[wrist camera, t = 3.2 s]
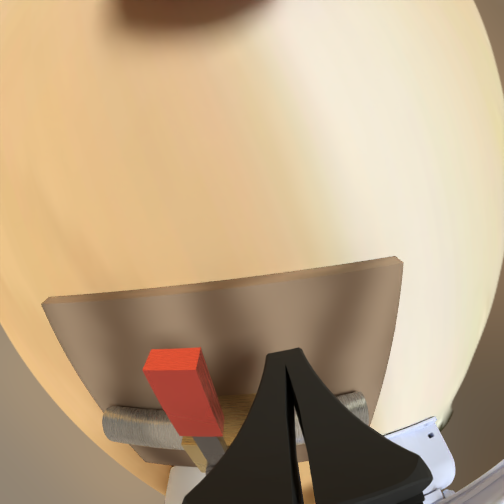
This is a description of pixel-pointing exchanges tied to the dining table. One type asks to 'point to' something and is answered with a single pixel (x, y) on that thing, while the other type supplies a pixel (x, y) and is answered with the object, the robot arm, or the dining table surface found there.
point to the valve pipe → (165, 436)
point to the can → (181, 483)
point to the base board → (235, 333)
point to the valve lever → (188, 398)
